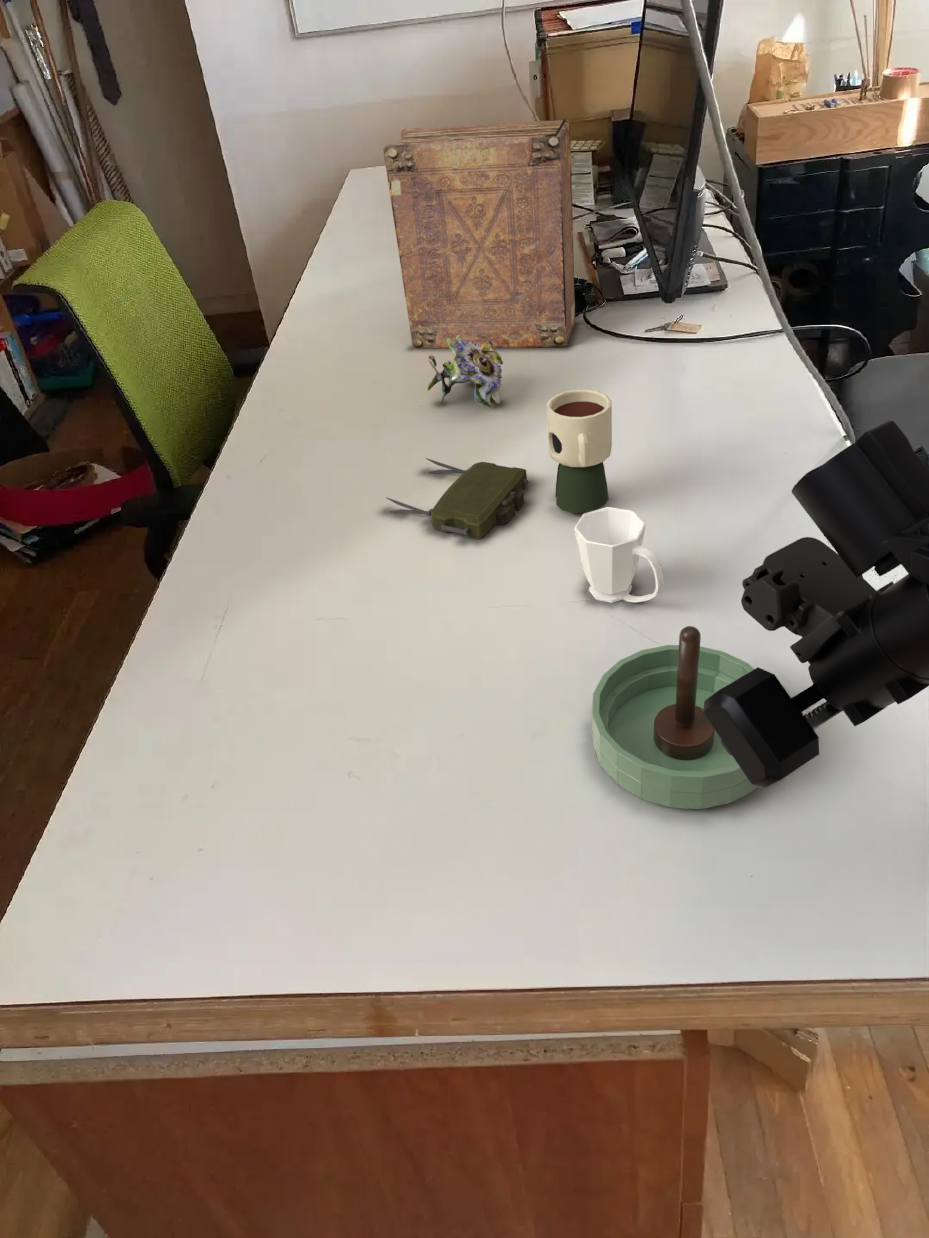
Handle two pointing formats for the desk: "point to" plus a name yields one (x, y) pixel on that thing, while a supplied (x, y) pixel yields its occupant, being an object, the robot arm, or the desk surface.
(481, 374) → the passion flower
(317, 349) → the desk surface
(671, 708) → the knob-topped peg stand
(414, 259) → the book
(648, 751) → the bowl
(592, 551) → the cup
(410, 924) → the desk surface
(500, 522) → the landmine
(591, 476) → the character mug
